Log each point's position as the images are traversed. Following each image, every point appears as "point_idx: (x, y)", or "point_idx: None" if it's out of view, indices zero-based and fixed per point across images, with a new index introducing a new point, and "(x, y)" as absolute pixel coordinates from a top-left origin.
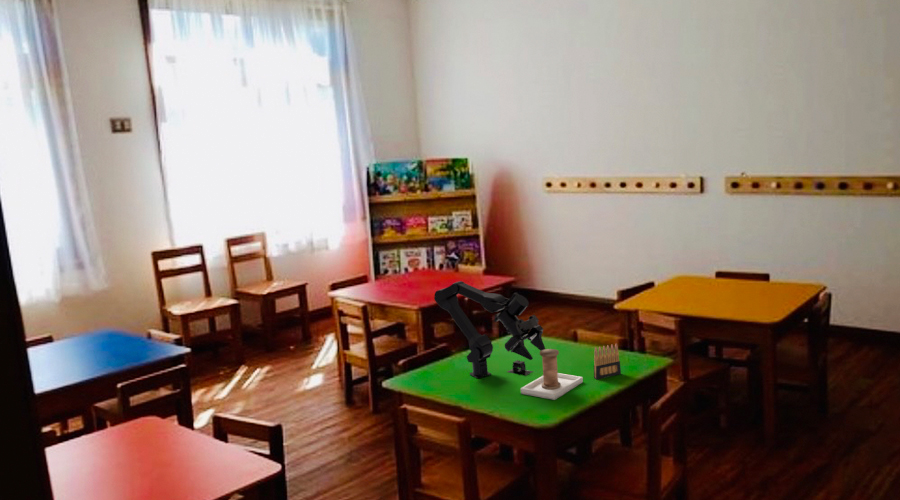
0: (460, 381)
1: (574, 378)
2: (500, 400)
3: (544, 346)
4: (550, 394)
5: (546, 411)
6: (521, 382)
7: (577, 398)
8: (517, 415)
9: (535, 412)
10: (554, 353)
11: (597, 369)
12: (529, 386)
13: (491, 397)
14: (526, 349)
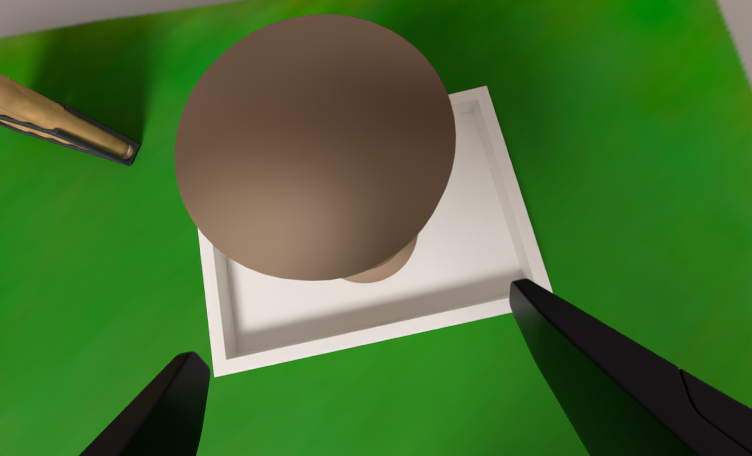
0: None
1: None
2: (697, 314)
3: (114, 421)
4: (491, 109)
5: (603, 36)
6: (409, 442)
7: None
8: (745, 93)
9: (651, 61)
10: (324, 33)
11: (84, 115)
12: (469, 304)
13: None
14: (671, 407)
